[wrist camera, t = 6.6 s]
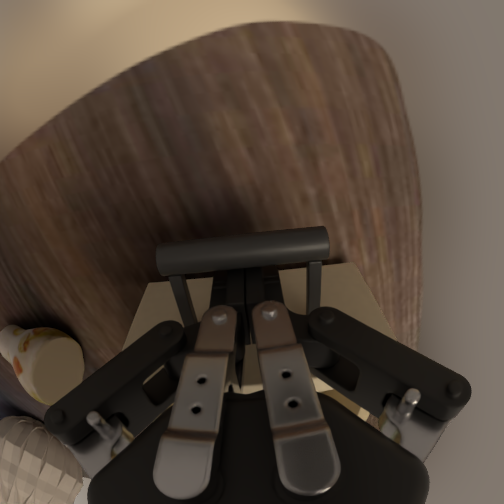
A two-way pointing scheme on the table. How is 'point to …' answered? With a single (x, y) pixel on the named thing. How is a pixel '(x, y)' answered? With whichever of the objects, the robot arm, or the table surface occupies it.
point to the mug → (43, 361)
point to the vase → (35, 465)
